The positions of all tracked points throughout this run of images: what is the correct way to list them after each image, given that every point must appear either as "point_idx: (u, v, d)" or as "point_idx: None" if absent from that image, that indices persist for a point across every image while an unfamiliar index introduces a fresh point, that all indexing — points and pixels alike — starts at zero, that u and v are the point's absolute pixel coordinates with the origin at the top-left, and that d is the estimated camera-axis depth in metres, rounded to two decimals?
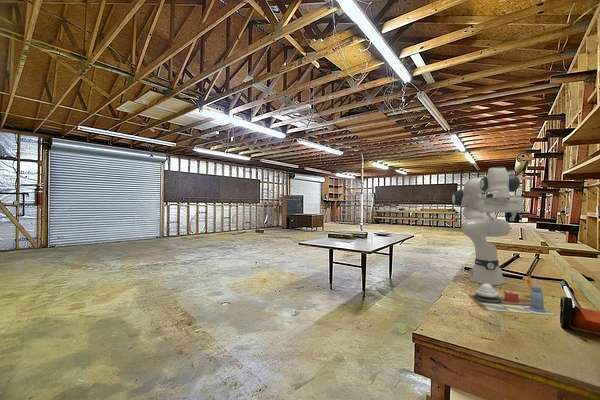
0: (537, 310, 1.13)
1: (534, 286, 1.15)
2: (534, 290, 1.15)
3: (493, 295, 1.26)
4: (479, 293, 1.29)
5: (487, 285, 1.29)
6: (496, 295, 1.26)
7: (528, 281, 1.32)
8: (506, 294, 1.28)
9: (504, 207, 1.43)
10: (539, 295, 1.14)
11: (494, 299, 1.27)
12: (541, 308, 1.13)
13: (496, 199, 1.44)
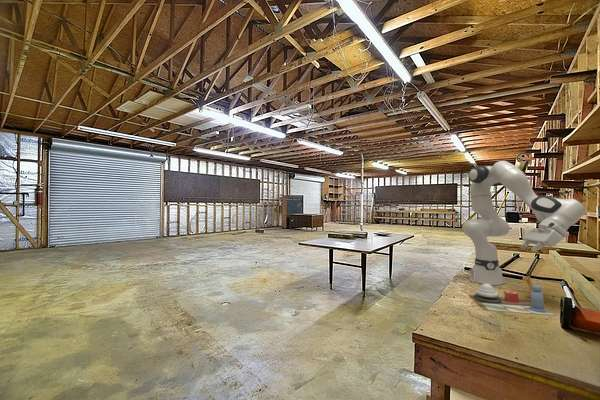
0: (537, 310, 1.13)
1: (534, 286, 1.15)
2: (534, 290, 1.15)
3: (493, 295, 1.26)
4: (479, 293, 1.29)
5: (487, 285, 1.29)
6: (496, 295, 1.26)
7: (528, 281, 1.32)
8: (506, 294, 1.28)
9: None
10: (539, 295, 1.14)
11: (494, 299, 1.27)
12: (541, 308, 1.13)
13: None
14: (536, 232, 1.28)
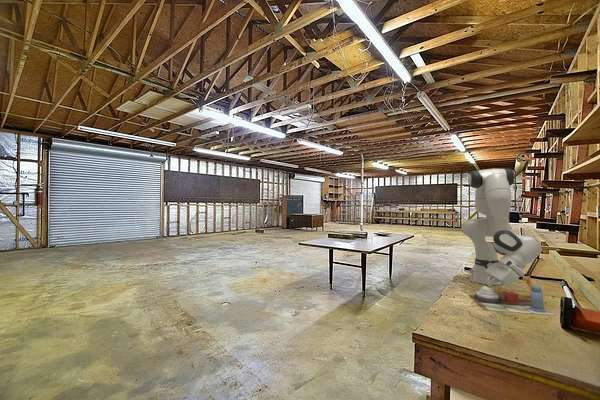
0: (537, 310, 1.13)
1: (534, 286, 1.15)
2: (534, 290, 1.15)
3: (493, 297, 1.25)
4: (479, 295, 1.29)
5: (487, 287, 1.29)
6: (496, 297, 1.26)
7: (528, 281, 1.32)
8: (506, 294, 1.28)
9: None
10: (539, 295, 1.14)
11: None
12: (541, 308, 1.13)
13: None
14: (497, 267, 1.32)
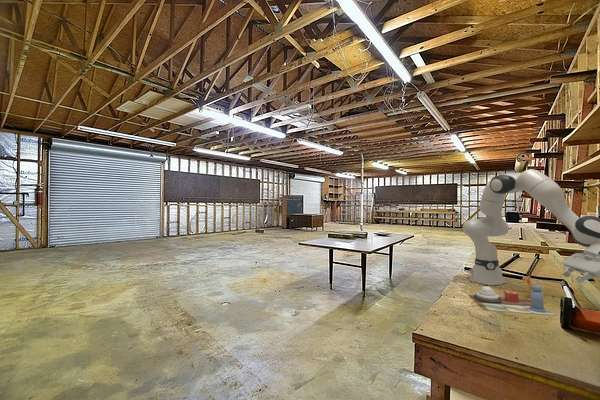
0: (537, 310, 1.13)
1: (534, 286, 1.15)
2: (534, 290, 1.15)
3: (493, 298, 1.25)
4: (479, 296, 1.29)
5: (487, 288, 1.29)
6: (496, 298, 1.26)
7: (528, 281, 1.32)
8: (506, 294, 1.28)
9: None
10: (539, 295, 1.14)
11: None
12: (541, 308, 1.13)
13: None
14: (581, 258, 1.14)
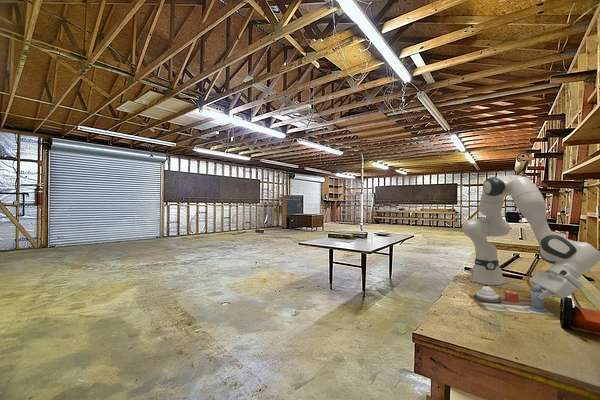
0: (537, 310, 1.13)
1: (534, 286, 1.15)
2: (534, 290, 1.15)
3: (493, 298, 1.25)
4: (479, 296, 1.29)
5: (487, 288, 1.29)
6: (496, 298, 1.26)
7: (528, 281, 1.32)
8: (506, 294, 1.28)
9: None
10: None
11: None
12: (541, 308, 1.13)
13: None
14: (545, 277, 1.17)
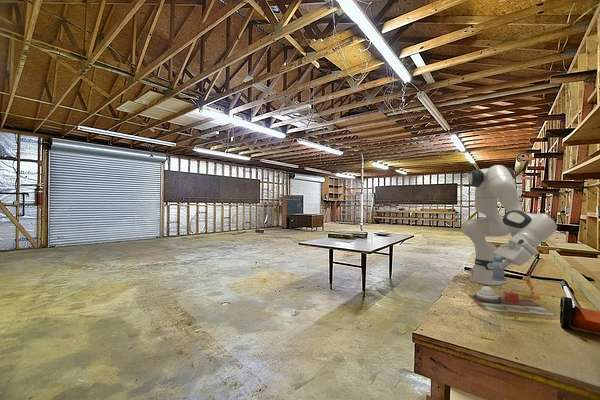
0: (498, 279, 1.18)
1: (495, 256, 1.20)
2: (495, 260, 1.19)
3: (493, 298, 1.25)
4: (479, 296, 1.29)
5: (487, 288, 1.29)
6: (496, 298, 1.26)
7: (528, 281, 1.32)
8: (506, 294, 1.28)
9: None
10: None
11: None
12: (501, 277, 1.18)
13: None
14: (506, 248, 1.22)
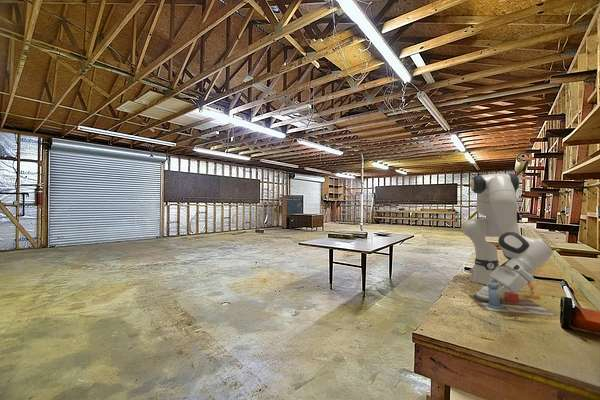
0: (493, 307, 1.18)
1: (491, 284, 1.20)
2: (491, 288, 1.20)
3: None
4: (479, 296, 1.29)
5: (487, 288, 1.29)
6: None
7: None
8: (506, 294, 1.28)
9: None
10: (495, 292, 1.18)
11: None
12: (497, 305, 1.18)
13: None
14: (502, 271, 1.22)
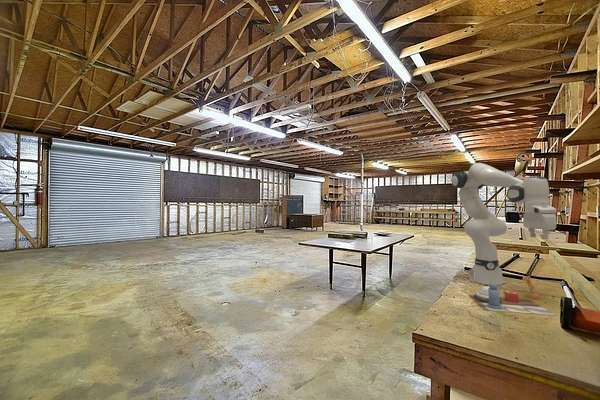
0: (493, 307, 1.18)
1: (491, 284, 1.20)
2: (491, 288, 1.20)
3: None
4: (479, 296, 1.29)
5: (487, 288, 1.29)
6: None
7: (528, 281, 1.32)
8: (506, 294, 1.28)
9: None
10: (495, 292, 1.18)
11: None
12: (497, 305, 1.18)
13: None
14: (530, 218, 1.32)
